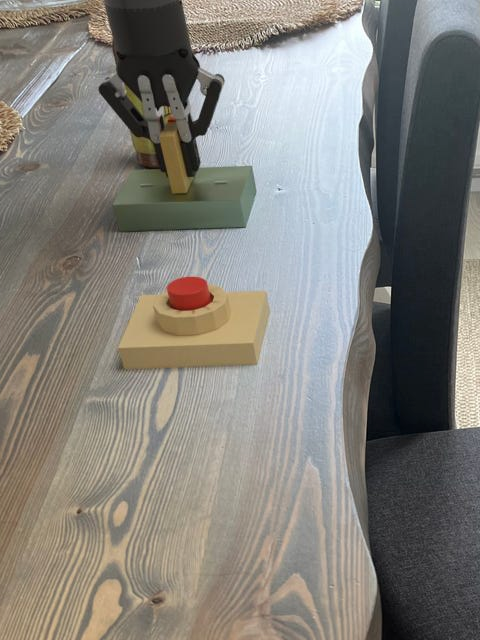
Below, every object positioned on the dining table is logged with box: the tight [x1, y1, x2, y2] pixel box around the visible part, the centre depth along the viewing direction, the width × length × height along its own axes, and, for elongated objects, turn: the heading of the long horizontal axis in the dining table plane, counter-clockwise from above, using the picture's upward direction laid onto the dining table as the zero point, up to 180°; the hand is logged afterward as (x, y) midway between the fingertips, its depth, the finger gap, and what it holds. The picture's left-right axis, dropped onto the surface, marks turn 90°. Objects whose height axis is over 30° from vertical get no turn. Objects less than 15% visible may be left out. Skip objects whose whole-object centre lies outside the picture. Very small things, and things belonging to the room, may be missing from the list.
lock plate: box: [111, 165, 257, 233], centre depth 114 cm, size 14×10×3 cm
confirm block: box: [117, 283, 271, 370], centre depth 93 cm, size 12×10×4 cm
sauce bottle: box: [111, 40, 173, 169], centre depth 119 cm, size 6×6×20 cm
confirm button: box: [166, 276, 211, 311], centre depth 91 cm, size 4×4×2 cm
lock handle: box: [159, 117, 194, 194], centre depth 111 cm, size 6×2×6 cm, turn 1°
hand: (182, 174), depth 112 cm, fingers closed on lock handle
